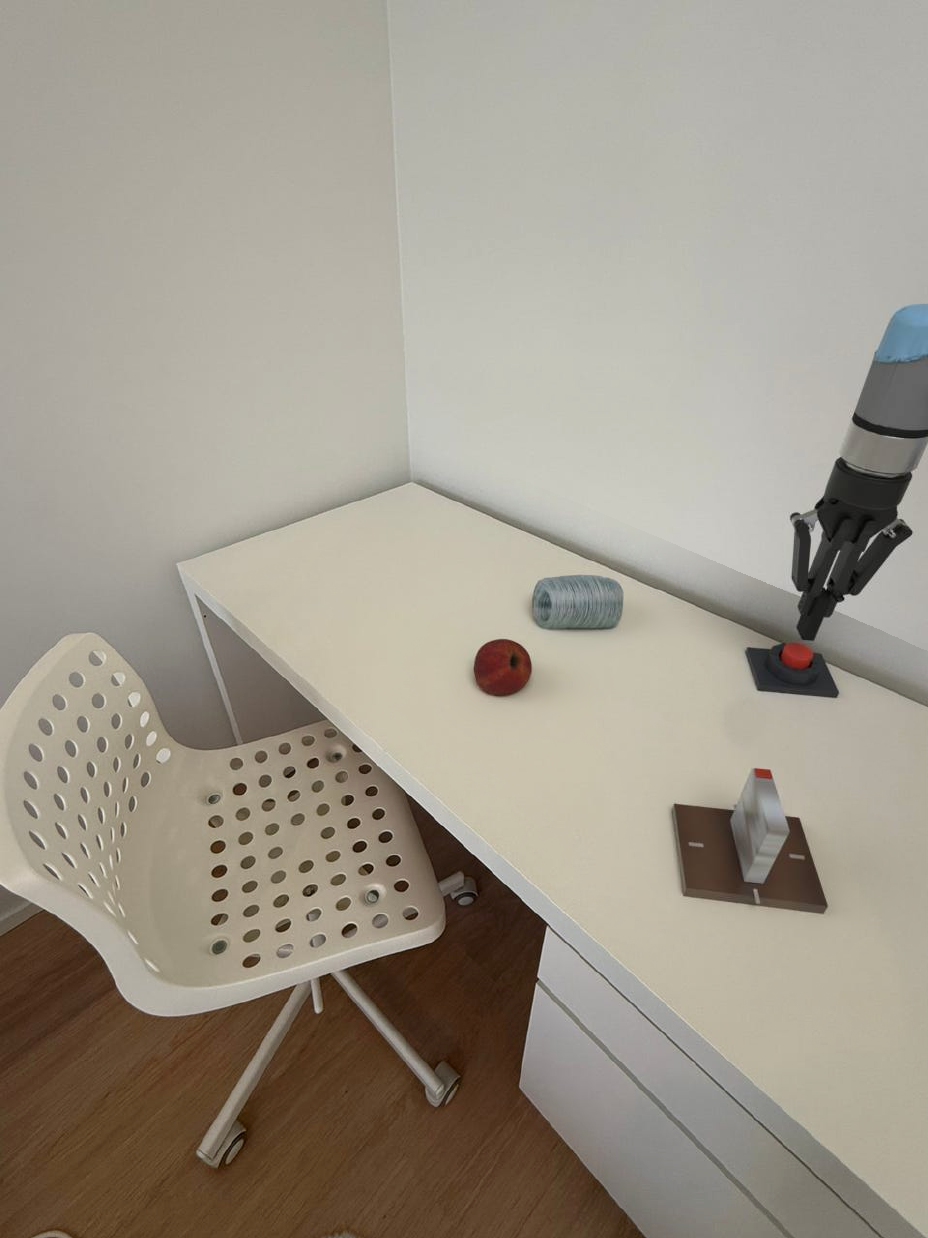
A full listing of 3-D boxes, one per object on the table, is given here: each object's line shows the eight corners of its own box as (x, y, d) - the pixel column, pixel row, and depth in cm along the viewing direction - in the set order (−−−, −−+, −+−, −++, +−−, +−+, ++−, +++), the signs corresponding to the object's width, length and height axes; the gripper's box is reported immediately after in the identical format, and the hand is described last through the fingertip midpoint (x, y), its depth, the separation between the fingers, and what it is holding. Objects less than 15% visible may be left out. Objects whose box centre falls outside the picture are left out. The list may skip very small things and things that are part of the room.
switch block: (816, 665, 92) (825, 643, 89) (833, 704, 85) (844, 682, 83) (743, 658, 93) (750, 637, 90) (755, 697, 87) (763, 675, 84)
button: (804, 653, 88) (809, 643, 87) (812, 671, 85) (816, 661, 84) (777, 651, 89) (781, 641, 88) (784, 668, 86) (788, 658, 85)
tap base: (790, 826, 71) (798, 811, 69) (821, 926, 62) (831, 912, 60) (668, 812, 72) (673, 797, 70) (681, 908, 63) (687, 893, 62)
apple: (492, 716, 84) (494, 670, 79) (462, 681, 89) (462, 635, 84) (539, 695, 87) (543, 650, 82) (507, 663, 92) (509, 618, 87)
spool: (527, 629, 93) (547, 562, 91) (521, 617, 102) (539, 556, 100) (618, 654, 94) (639, 588, 92) (603, 640, 103) (622, 579, 101)
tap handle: (763, 884, 62) (791, 830, 57) (744, 882, 63) (769, 827, 57) (747, 822, 68) (771, 768, 63) (729, 820, 68) (752, 766, 63)
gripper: (924, 453, 72) (848, 621, 86) (802, 446, 74) (747, 612, 88) (955, 482, 66) (867, 657, 81) (822, 474, 68) (759, 647, 82)
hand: (804, 633), depth 84 cm, fingers closed
